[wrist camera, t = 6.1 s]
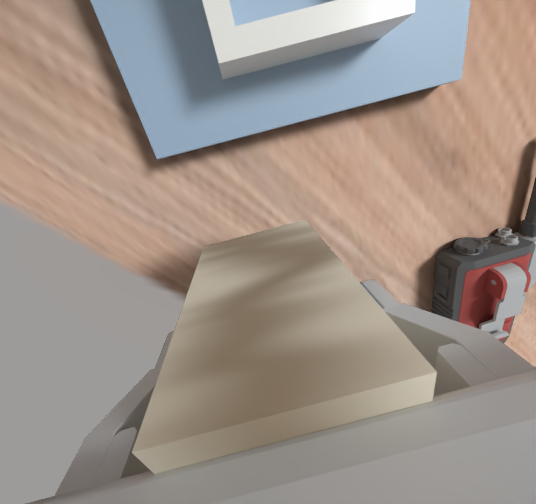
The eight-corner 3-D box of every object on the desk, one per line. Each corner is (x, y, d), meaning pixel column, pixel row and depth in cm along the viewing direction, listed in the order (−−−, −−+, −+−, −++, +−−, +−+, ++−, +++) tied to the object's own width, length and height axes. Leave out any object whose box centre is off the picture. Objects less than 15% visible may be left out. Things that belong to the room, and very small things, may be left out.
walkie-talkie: (499, 324, 25) (549, 128, 17) (547, 357, 21) (646, 122, 13) (423, 346, 26) (435, 161, 17) (458, 382, 22) (496, 166, 13)
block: (305, 219, 11) (437, 372, 4) (319, 301, 13) (417, 495, 6) (203, 246, 11) (131, 452, 4) (234, 323, 13) (229, 544, 6)
